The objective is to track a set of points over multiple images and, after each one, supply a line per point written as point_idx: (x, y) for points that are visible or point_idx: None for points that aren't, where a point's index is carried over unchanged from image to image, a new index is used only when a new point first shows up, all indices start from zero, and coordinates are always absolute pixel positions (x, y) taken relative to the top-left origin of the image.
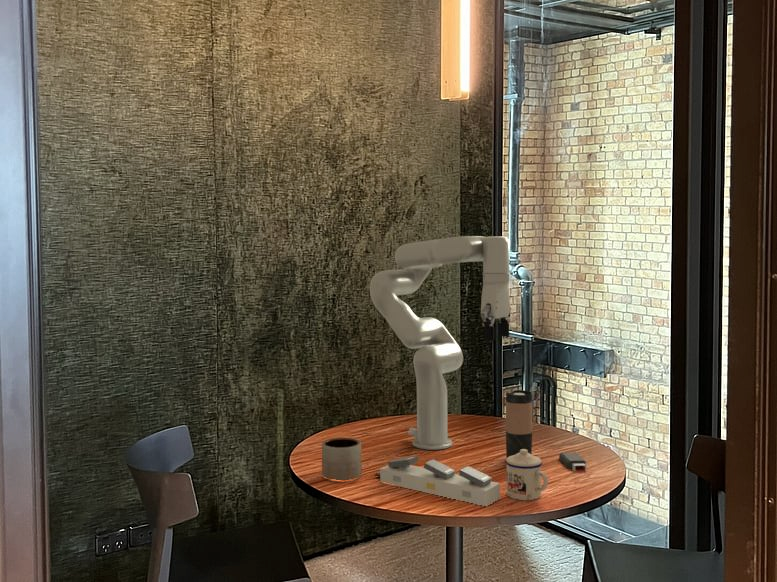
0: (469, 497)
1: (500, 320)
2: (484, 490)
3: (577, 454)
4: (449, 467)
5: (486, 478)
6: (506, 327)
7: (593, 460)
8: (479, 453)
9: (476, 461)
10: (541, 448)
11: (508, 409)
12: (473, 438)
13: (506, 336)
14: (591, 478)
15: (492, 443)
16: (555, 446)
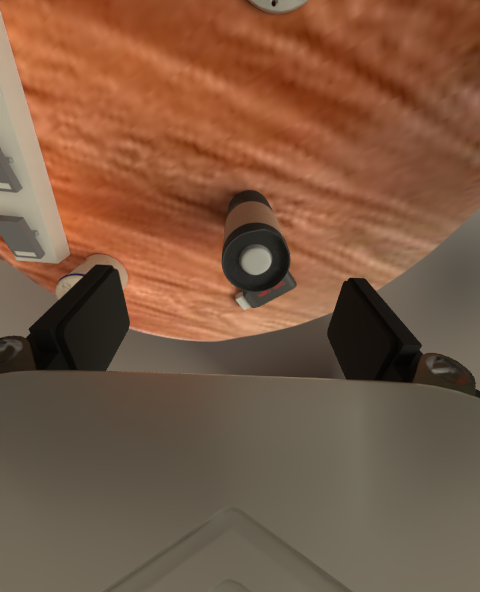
0: None
1: (410, 380)
2: (15, 257)
3: (282, 292)
4: (9, 179)
5: (27, 255)
6: (350, 372)
7: (295, 301)
8: (259, 120)
9: (205, 141)
10: (335, 220)
11: (227, 231)
12: (380, 37)
13: (333, 323)
14: (218, 317)
15: (345, 112)
16: (355, 236)
